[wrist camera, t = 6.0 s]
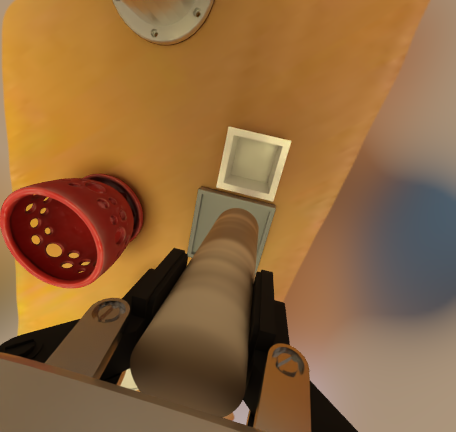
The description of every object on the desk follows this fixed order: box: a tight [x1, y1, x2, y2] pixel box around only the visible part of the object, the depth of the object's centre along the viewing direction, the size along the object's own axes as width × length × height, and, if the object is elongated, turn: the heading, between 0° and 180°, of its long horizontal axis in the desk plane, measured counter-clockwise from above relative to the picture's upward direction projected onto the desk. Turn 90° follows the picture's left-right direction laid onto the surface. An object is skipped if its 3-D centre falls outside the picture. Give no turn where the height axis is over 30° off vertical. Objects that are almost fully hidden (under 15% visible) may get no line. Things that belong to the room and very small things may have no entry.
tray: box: [187, 187, 276, 275], centre depth 34 cm, size 11×11×2 cm
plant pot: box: [0, 174, 143, 288], centre depth 32 cm, size 13×13×12 cm
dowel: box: [130, 208, 259, 418], centre depth 13 cm, size 4×4×13 cm
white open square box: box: [216, 127, 291, 201], centre depth 28 cm, size 7×7×7 cm
